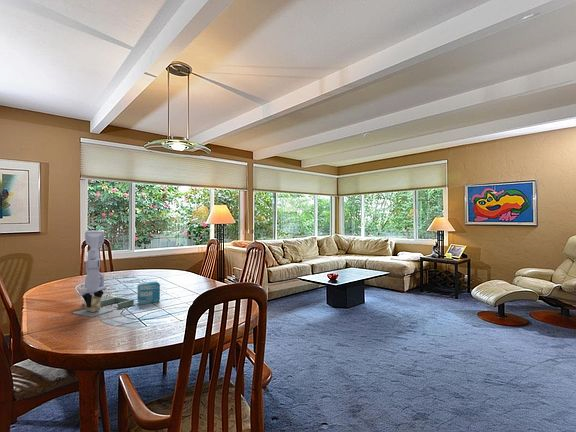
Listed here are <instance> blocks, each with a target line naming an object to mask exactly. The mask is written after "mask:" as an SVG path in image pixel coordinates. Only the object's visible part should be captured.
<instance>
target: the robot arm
mask: <svg viewBox="0 0 576 432" xmlns="http://www.w3.org/2000/svg"><path fill="white" fill-rule="evenodd" d="M84 239H85V244H86V245H87V246H89V247H90V249H89V250H88V251H87V258H86V261H85V270H86V274H85V276H84V290H81V291H78V293H77V294H78V296H81V297H82V298H83V302H82V303H81V304H82V305H85V302H86V305H87V307H91V298H92V296H96V297H100V304H101V301H102V296H103V295H104V291H107V286H105V276H104V274H103V273H102V272H101V271H100V268H101V259H100V258H101V257H100V255H101V253H100V252H101V251H100V248H101V246H102V245H103V244H104V242H105V231H104V230H85V232H84Z"/></svg>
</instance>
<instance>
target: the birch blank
mask: <svg viewBox="0 0 576 432" xmlns="http://www.w3.org/2000/svg"><path fill="white" fill-rule="evenodd" d="M100 308H101V303H100V297H96V296H92V298H91V307H87V305H86V302H85V304H84V309H85V310H86V311H91V312H94V311H98V310H100Z"/></svg>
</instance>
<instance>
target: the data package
mask: <svg viewBox="0 0 576 432" xmlns="http://www.w3.org/2000/svg"><path fill="white" fill-rule="evenodd" d="M160 298H161V284H160V282H158V281H149V282H140V283H138V285H137V298H136V299H137V303H138V304H139V305H147V304H153V303H159V302H160V300H161V299H160Z"/></svg>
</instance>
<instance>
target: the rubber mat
mask: <svg viewBox="0 0 576 432" xmlns="http://www.w3.org/2000/svg"><path fill="white" fill-rule="evenodd" d="M113 311H114V309H108V308H103V307H100V310H98V311H94V312H91V311H86V310H85V308H84V309H81V310H77V311H72V314H73V315H78V316H83V317H88V318H94V317H97V316H100V315H104V314H108V313H110V312H113Z"/></svg>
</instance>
